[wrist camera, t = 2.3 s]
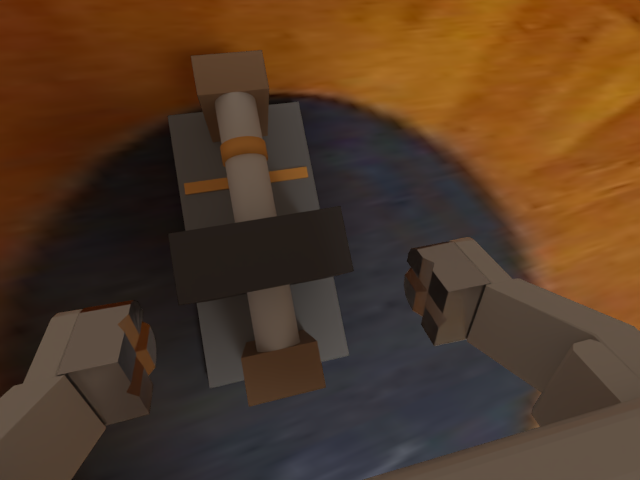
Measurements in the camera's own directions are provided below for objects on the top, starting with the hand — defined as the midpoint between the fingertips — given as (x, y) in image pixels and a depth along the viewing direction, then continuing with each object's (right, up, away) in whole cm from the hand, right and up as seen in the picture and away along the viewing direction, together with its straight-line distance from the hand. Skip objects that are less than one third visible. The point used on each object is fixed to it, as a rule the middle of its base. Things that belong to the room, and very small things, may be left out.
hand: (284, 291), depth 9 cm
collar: (-4, -1, +22) cm, 23 cm away
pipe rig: (-5, +1, +25) cm, 26 cm away
